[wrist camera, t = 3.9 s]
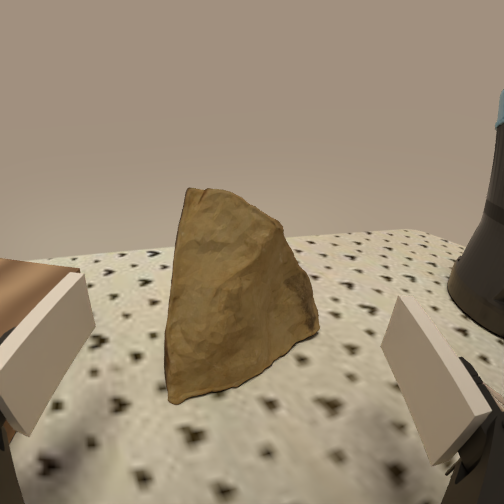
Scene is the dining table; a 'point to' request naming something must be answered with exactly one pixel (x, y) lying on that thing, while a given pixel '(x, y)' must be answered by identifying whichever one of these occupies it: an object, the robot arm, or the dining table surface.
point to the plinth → (24, 294)
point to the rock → (231, 296)
